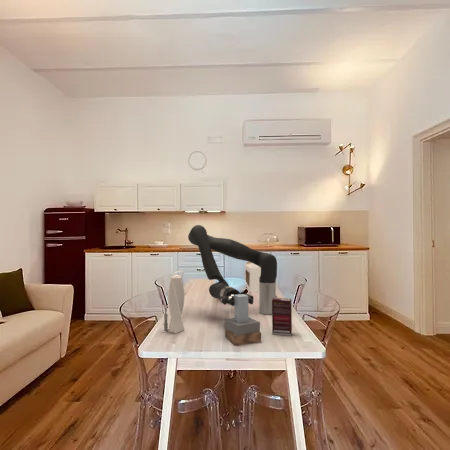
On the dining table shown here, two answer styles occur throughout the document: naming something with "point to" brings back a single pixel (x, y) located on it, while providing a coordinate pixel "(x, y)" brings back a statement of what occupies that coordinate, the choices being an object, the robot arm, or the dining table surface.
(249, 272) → the gable box
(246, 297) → the slate block
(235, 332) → the charcoal block
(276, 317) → the supplement box
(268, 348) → the dining table surface
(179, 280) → the skyscraper
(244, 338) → the walnut slab
